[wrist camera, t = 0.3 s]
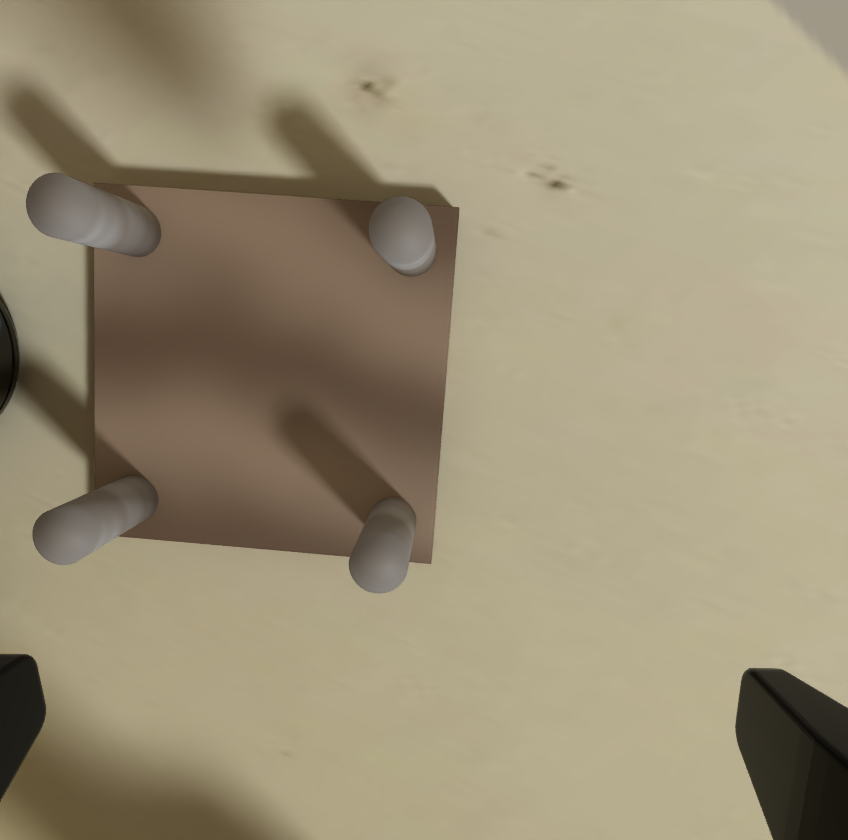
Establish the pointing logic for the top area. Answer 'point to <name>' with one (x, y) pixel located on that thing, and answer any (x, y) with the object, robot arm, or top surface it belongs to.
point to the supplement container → (8, 358)
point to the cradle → (260, 371)
